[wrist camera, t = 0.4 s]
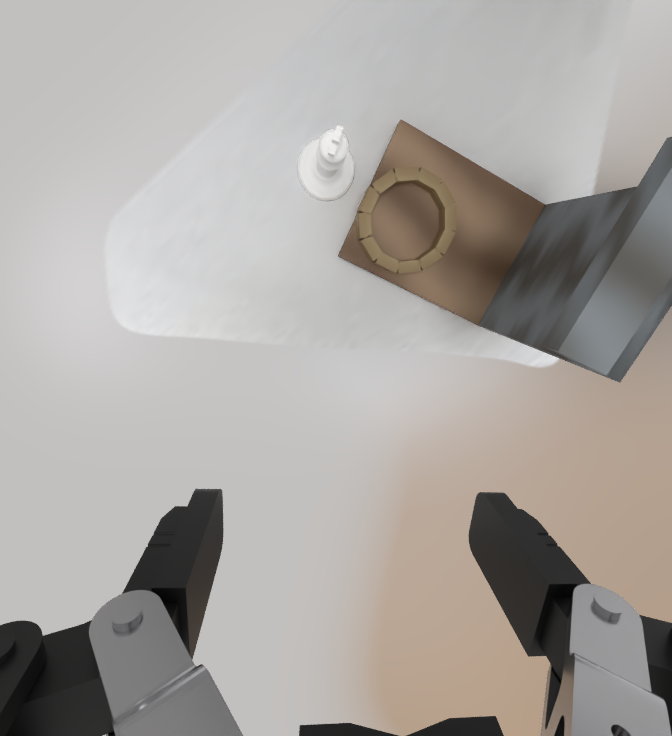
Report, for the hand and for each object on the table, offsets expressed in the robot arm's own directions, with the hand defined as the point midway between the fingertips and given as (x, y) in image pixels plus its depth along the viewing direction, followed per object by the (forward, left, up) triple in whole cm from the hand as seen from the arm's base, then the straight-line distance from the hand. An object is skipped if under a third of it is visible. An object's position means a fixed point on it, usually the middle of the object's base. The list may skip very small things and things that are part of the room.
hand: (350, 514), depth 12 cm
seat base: (-14, +7, -27) cm, 31 cm away
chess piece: (-14, -5, -27) cm, 31 cm away
